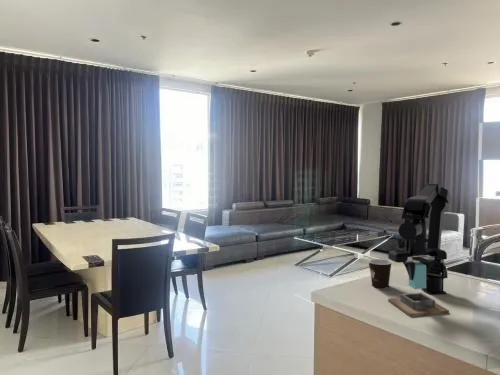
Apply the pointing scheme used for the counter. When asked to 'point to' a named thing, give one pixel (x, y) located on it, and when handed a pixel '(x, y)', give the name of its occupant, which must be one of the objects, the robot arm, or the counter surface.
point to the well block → (417, 305)
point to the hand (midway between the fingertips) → (417, 279)
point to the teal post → (418, 276)
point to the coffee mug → (380, 272)
